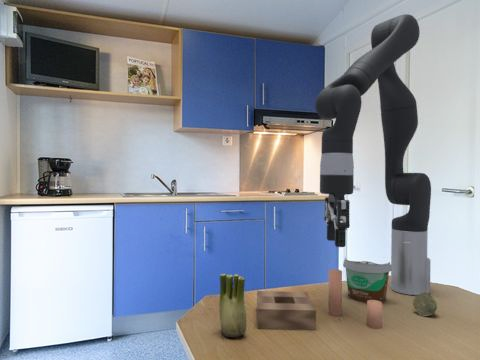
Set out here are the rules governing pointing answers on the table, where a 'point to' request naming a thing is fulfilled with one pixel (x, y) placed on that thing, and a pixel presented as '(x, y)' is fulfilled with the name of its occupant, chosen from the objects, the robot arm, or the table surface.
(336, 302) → the long dowel
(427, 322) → the table surface
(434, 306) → the lime
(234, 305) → the fennel bulb
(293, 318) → the walnut block
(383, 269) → the food container
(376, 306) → the short dowel
